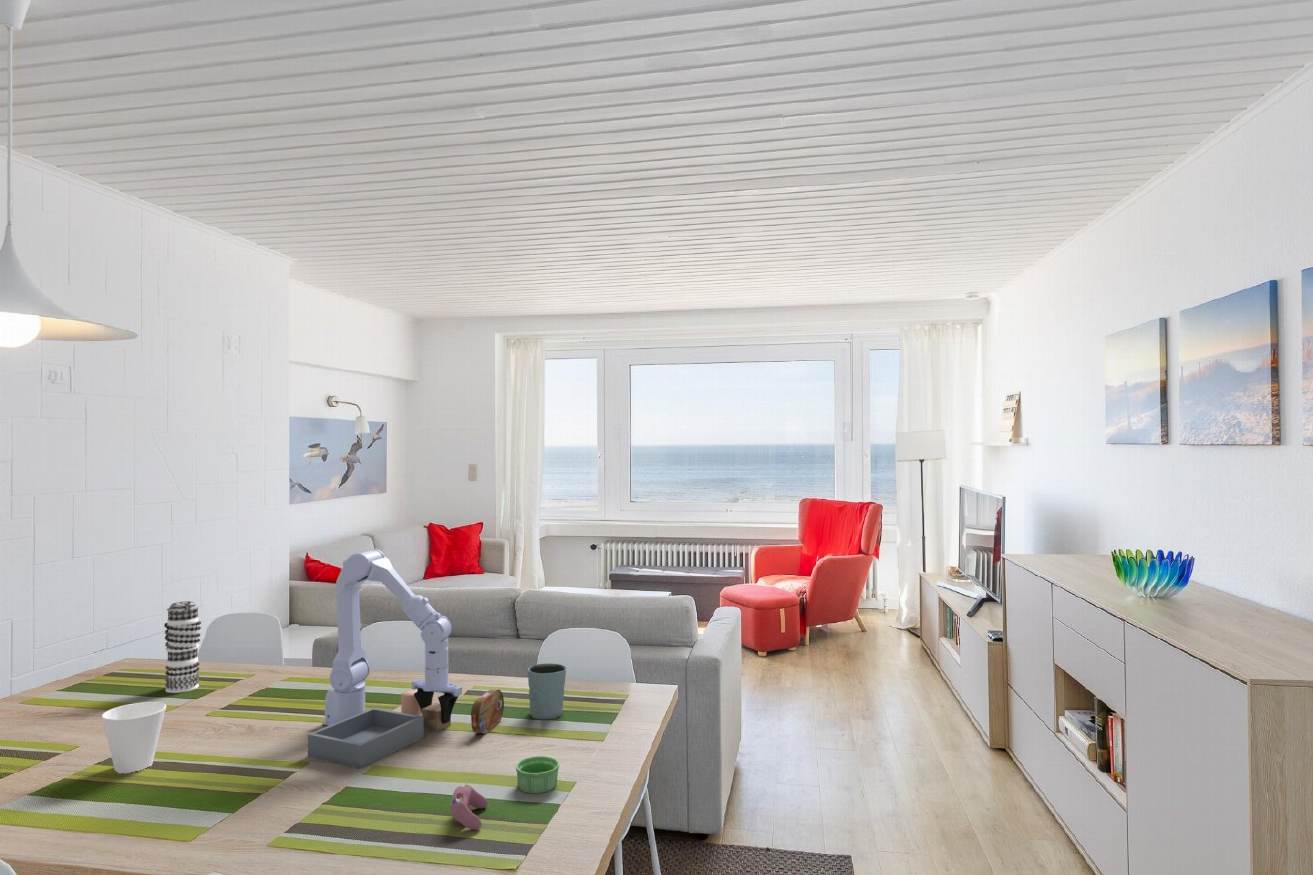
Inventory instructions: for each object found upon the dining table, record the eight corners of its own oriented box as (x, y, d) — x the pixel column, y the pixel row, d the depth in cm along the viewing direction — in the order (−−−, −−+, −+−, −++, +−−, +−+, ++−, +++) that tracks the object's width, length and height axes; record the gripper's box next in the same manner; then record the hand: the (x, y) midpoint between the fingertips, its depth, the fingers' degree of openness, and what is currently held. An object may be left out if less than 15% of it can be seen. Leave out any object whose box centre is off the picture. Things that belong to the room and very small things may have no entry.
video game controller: (468, 815, 149) (452, 783, 149) (489, 803, 150) (473, 772, 150) (460, 840, 140) (442, 807, 139) (482, 828, 140) (465, 794, 140)
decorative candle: (188, 693, 220) (189, 605, 220) (156, 693, 220) (157, 605, 220) (207, 683, 229) (208, 599, 229) (176, 683, 229) (177, 599, 229)
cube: (421, 729, 192) (421, 708, 192) (435, 722, 196) (435, 702, 196) (437, 731, 190) (437, 711, 190) (450, 725, 194) (450, 705, 194)
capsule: (396, 722, 196) (397, 694, 197) (410, 715, 201) (410, 689, 201) (412, 724, 194) (412, 697, 194) (425, 718, 199) (425, 691, 199)
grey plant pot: (520, 716, 200) (520, 670, 200) (540, 705, 210) (540, 661, 210) (554, 722, 196) (554, 675, 197) (572, 709, 206) (573, 664, 206)
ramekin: (539, 799, 153) (539, 776, 153) (506, 788, 158) (506, 767, 158) (568, 782, 161) (568, 761, 161) (535, 773, 165) (535, 752, 166)
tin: (480, 739, 185) (480, 704, 185) (468, 738, 186) (468, 703, 186) (505, 717, 200) (505, 685, 200) (493, 717, 200) (493, 684, 200)
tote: (307, 756, 174) (307, 734, 174) (373, 727, 192) (373, 707, 193) (360, 768, 168) (360, 745, 168) (423, 737, 186) (423, 716, 186)
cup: (95, 782, 160) (96, 723, 161) (105, 762, 171) (106, 706, 171) (162, 771, 166) (163, 714, 166) (168, 752, 176) (169, 698, 177)
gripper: (403, 667, 193) (402, 721, 192) (449, 674, 187) (448, 730, 186) (422, 660, 199) (422, 712, 199) (467, 666, 193) (467, 720, 193)
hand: (436, 720), depth 193 cm, fingers open, 5 cm apart
